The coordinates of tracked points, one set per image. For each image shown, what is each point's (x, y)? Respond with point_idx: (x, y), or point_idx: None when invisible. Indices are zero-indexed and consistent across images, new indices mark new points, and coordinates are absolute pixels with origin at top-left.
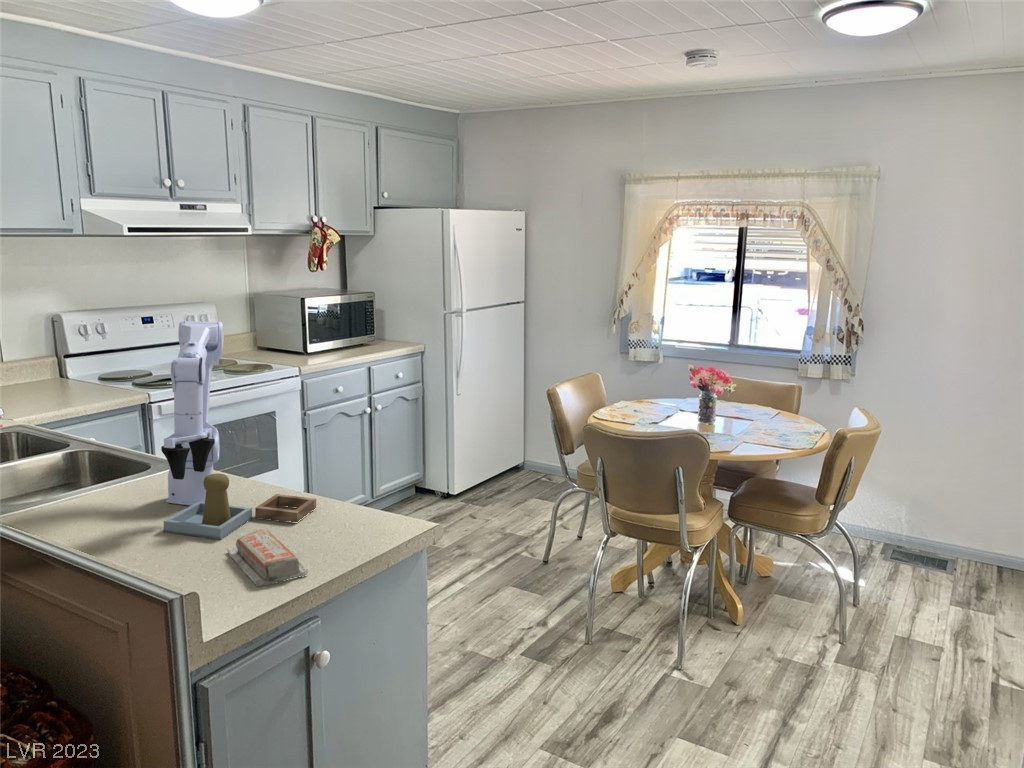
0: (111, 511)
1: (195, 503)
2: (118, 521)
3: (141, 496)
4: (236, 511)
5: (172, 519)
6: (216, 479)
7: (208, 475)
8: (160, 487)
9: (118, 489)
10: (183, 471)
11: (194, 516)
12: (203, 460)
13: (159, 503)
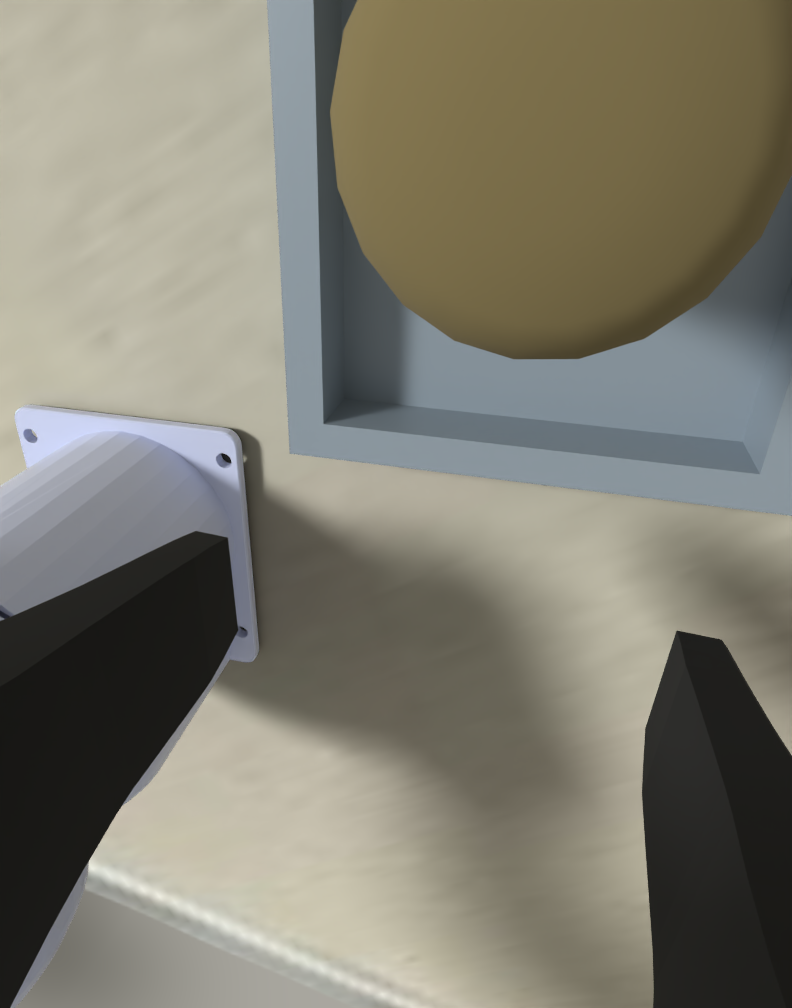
0: (464, 828)
1: (340, 456)
2: (600, 764)
3: (226, 779)
4: (325, 36)
5: (734, 469)
6: (770, 6)
7: (560, 309)
8: None
9: (194, 875)
10: (751, 714)
11: (446, 396)
12: (121, 628)
13: (276, 680)
